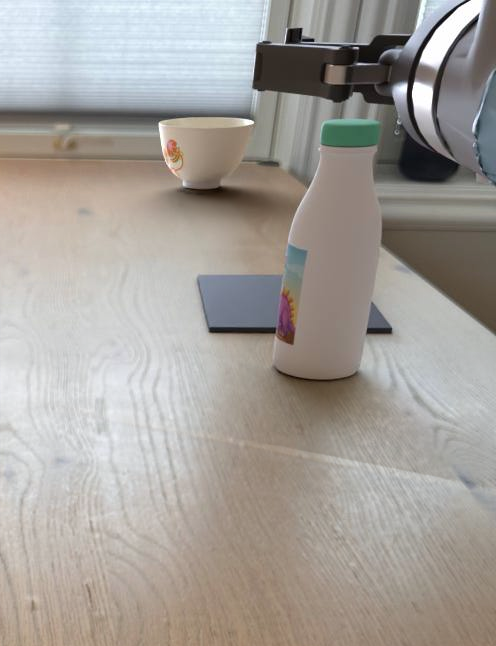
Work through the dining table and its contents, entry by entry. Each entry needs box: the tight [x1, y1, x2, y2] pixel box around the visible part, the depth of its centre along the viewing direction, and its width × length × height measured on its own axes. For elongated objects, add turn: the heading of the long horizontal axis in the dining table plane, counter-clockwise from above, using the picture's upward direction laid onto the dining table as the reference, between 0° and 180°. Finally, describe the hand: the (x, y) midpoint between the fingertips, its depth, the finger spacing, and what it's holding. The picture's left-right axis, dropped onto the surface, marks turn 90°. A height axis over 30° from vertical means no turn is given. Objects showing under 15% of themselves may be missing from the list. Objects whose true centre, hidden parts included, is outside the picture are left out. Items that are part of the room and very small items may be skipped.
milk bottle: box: [272, 118, 383, 380], centre depth 83 cm, size 8×8×20 cm
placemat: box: [196, 274, 393, 334], centre depth 107 cm, size 22×18×1 cm
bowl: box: [158, 116, 255, 190], centre depth 169 cm, size 16×16×10 cm
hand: (393, 56), depth 66 cm, fingers open, 13 cm apart
